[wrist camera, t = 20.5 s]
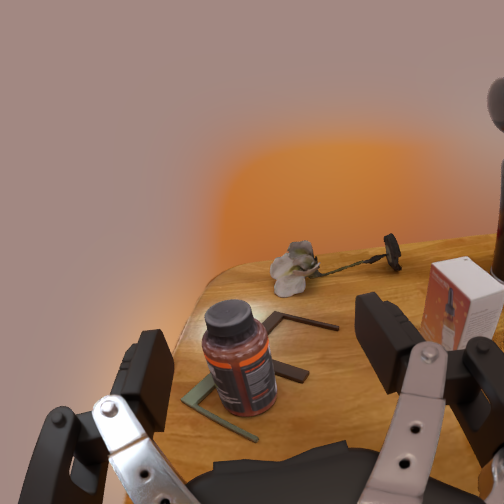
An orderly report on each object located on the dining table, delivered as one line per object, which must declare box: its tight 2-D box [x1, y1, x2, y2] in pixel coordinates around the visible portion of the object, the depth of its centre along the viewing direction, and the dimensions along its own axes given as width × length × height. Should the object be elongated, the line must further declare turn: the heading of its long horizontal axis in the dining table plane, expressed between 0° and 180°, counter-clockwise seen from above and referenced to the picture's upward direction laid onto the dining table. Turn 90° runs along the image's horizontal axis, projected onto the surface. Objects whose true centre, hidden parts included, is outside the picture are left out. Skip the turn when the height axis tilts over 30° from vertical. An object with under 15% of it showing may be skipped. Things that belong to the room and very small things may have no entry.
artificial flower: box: [270, 233, 402, 297], centre depth 47 cm, size 9×22×10 cm, turn 87°
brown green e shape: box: [181, 311, 339, 443], centre depth 33 cm, size 19×10×1 cm, turn 145°
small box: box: [419, 256, 504, 351], centre depth 25 cm, size 8×6×10 cm
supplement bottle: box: [202, 299, 277, 417], centre depth 26 cm, size 6×6×11 cm
